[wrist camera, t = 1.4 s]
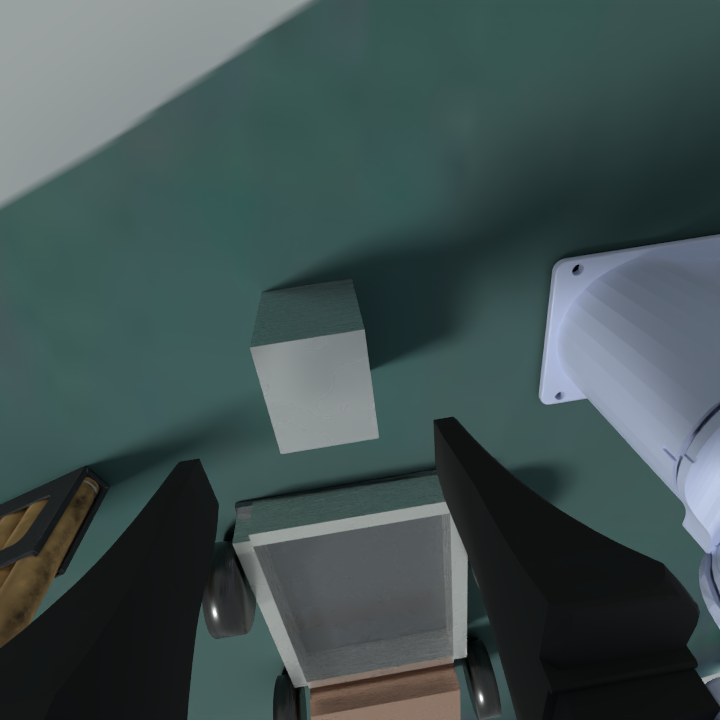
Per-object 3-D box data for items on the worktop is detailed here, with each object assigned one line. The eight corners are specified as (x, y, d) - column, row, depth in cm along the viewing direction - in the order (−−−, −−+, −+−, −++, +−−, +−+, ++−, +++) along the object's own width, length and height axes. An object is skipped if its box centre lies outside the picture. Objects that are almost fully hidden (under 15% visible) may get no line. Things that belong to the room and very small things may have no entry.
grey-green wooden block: (351, 277, 20) (364, 329, 16) (365, 371, 22) (378, 437, 18) (261, 291, 20) (249, 347, 15) (285, 384, 22) (280, 454, 18)
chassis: (485, 461, 26) (519, 532, 22) (478, 663, 39) (499, 733, 35) (204, 508, 26) (185, 590, 22) (290, 697, 39) (288, 771, 35)
